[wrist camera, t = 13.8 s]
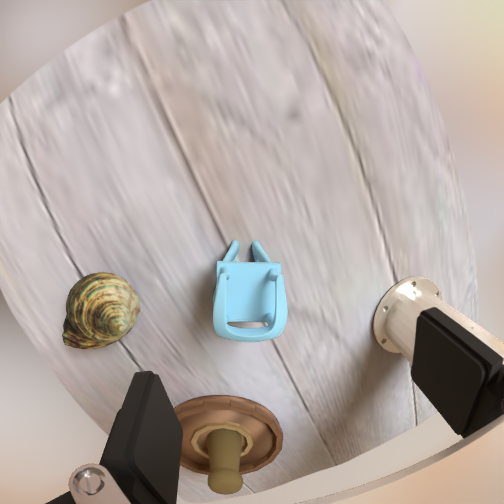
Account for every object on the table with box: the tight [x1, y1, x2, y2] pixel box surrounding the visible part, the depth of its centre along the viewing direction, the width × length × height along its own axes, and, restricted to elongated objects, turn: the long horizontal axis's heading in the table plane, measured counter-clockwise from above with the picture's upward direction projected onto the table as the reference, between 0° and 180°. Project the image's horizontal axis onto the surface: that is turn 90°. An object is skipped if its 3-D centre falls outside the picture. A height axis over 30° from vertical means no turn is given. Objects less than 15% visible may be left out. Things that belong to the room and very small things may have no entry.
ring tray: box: [174, 395, 283, 475], centre depth 44 cm, size 20×20×2 cm
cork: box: [206, 428, 243, 494], centre depth 39 cm, size 6×6×11 cm
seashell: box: [62, 272, 140, 349], centre depth 33 cm, size 11×11×10 cm
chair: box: [212, 240, 287, 342], centre depth 32 cm, size 8×8×12 cm
